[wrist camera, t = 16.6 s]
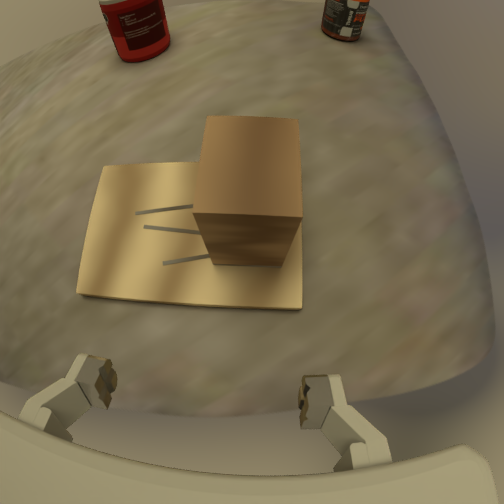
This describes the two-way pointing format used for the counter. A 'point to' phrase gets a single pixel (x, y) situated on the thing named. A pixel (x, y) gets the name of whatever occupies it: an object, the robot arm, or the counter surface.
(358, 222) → the counter surface
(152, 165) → the board
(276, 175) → the block
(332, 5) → the supplement bottle
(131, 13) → the canned food
